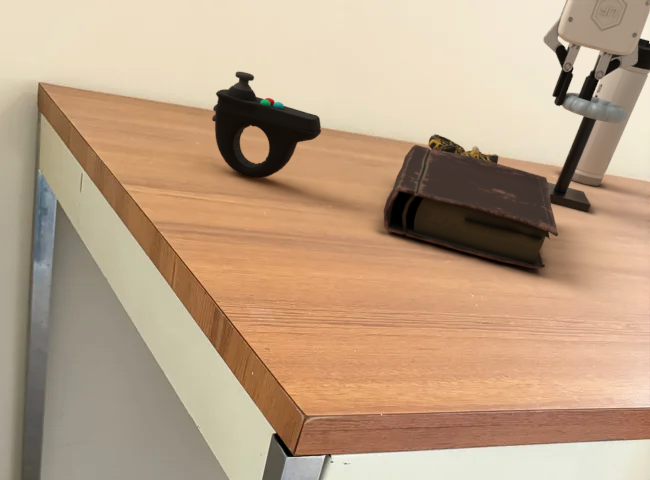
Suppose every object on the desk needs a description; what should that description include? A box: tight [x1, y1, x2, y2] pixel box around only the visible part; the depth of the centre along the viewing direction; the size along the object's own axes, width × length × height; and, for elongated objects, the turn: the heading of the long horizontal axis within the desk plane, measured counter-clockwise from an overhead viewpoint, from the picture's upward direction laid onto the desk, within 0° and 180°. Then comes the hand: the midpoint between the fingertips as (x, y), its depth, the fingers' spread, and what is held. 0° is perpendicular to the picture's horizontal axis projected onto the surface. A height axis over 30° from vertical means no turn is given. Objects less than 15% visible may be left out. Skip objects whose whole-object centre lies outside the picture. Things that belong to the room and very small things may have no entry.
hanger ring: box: [561, 92, 627, 123], centre depth 112 cm, size 9×9×2 cm
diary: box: [383, 144, 559, 269], centre depth 96 cm, size 19×25×5 cm
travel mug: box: [571, 37, 650, 187], centre depth 128 cm, size 6×7×20 cm
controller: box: [211, 71, 322, 179], centre depth 93 cm, size 4×12×10 cm, turn 71°
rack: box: [547, 116, 596, 213], centre depth 116 cm, size 8×8×11 cm
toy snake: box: [427, 133, 499, 164], centre depth 120 cm, size 18×5×10 cm
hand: (568, 105), depth 112 cm, fingers closed on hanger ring, 2 cm apart
